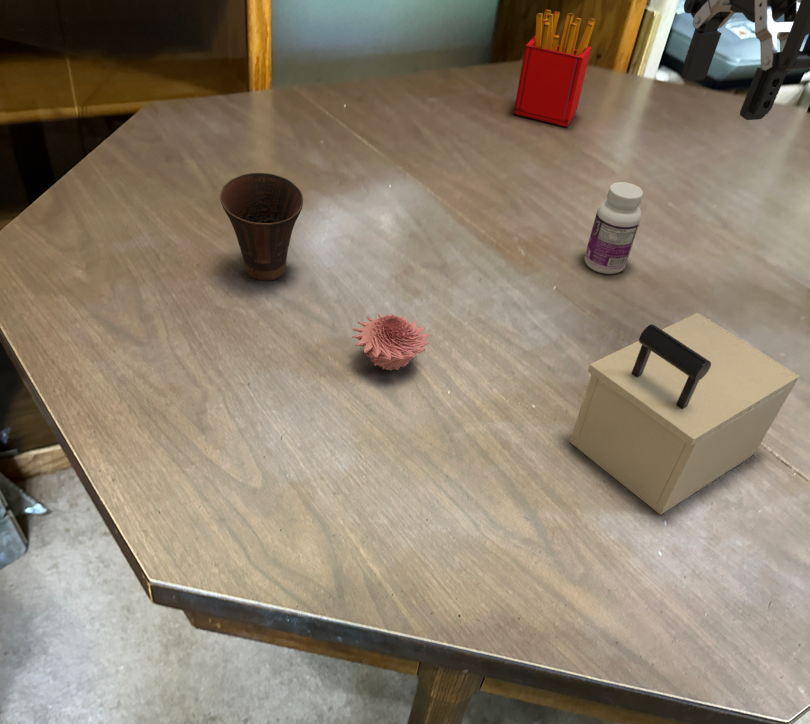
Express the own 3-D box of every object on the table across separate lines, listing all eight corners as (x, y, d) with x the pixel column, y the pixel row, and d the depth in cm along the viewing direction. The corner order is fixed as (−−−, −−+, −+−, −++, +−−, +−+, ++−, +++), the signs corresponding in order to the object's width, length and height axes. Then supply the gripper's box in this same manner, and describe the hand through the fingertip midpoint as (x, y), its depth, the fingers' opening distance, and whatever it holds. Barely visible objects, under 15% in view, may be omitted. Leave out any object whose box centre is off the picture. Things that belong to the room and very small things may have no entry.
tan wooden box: (660, 515, 70) (696, 443, 63) (569, 442, 75) (593, 368, 69) (754, 454, 76) (795, 383, 70) (664, 391, 82) (694, 319, 75)
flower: (440, 376, 80) (446, 331, 76) (372, 396, 77) (375, 350, 73) (403, 335, 85) (407, 290, 80) (337, 352, 82) (338, 306, 77)
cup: (249, 305, 86) (241, 219, 78) (215, 266, 90) (205, 181, 83) (318, 286, 89) (318, 202, 82) (282, 249, 94) (279, 166, 86)
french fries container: (524, 101, 131) (542, 5, 120) (576, 114, 129) (599, 17, 119) (512, 116, 127) (530, 17, 116) (566, 129, 125) (588, 30, 114)
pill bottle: (588, 249, 100) (609, 174, 93) (628, 260, 99) (652, 185, 92) (578, 268, 97) (599, 193, 89) (620, 280, 96) (645, 204, 88)
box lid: (690, 446, 63) (716, 392, 58) (587, 371, 68) (604, 316, 64) (795, 383, 70) (826, 330, 65) (694, 319, 75) (716, 266, 71)
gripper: (927, -125, 51) (807, 130, 64) (790, -167, 60) (708, 65, 72) (841, -130, 49) (734, 135, 61) (711, -173, 57) (640, 68, 70)
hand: (720, 97), depth 67 cm, fingers open, 8 cm apart
